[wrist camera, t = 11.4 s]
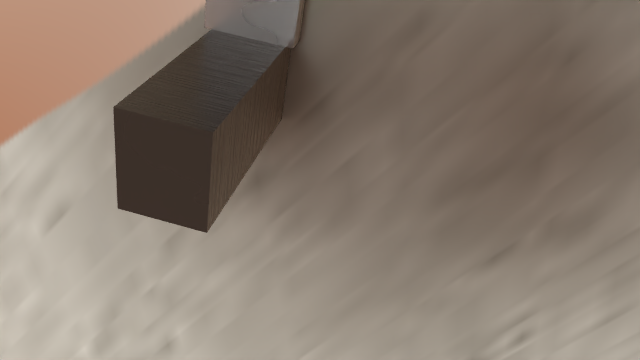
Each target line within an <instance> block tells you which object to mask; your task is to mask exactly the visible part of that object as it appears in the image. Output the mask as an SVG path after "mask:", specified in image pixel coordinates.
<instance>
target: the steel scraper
mask: <svg viewBox="0 0 640 360" xmlns="http://www.w3.org/2000/svg"><path fill="white" fill-rule="evenodd" d="M304 5H305V0H206V7H205V28H208V29H212V30H210V31H209V32H208V33H207V34H205V35H204V36H203V37H202V38H200V39H199V40H198V41H196V42H195V43H194V44H193V45H191V46H190V47H189V48H188V49H186V50H185V51H184V52H183V53H181V54H180V55H179V56H178V57H176V58H175V59H174V60H172V61H171V62H170V63H169V64H167V65H166V66H165V67H164V68H162V69H161V70H160V71H159V72H157V73H156V74H155V75H154V76H152V77H151V78H150V79H148V80H147V81H146V82H145V83H143V84H142V85H141V86H140V87H138V88H137V89H136V90H135V91H133V92H132V93H131V94H129V95H128V96H127V97H126V98H124V99H123V100H122V101H121V102H119V103H118V104H117V105H116V106H114V131H115V154H116V178H117V201H118V209H122V210H126V211H129V212H133V213H137V214H140V215H144V216H148V217H151V218H155V219H159V220H162V221H166V222H169V223H173V224H177V225H180V226H184V227H188V228H191V229H195V230H199V231H202V232H206V233H207V232H208V230H209V229H210V227H211V226H212V224H213V223H214V221H215V220H216V218H217V217H218V215H219V214H220V212H221V211H222V209H223V208H224V206H225V204H226V203H227V201H228V200H229V198H230V197H231V195H232V194H233V192H234V191H235V189H236V188H237V186H238V185H239V183H240V182H241V180H242V179H243V177H244V175H245V174H246V172H247V171H248V169H249V168H250V166H251V165H252V163H253V162H254V160H255V159H256V157H257V156H258V154H259V153H260V151H261V150H262V148H263V146H264V145H265V143H266V142H267V140H268V139H269V137H270V136H271V134H272V133H273V131H274V130H275V128H276V127H277V125H278V124H279V122H280V121H281V119H282V112H283V104H284V97H285V89H286V82H287V74H288V67H289V59H290V52H291V48H294V47H295V46H296V44H297V43H298V42H299V40H300V33H301V26H302V19H303V12H304Z"/></svg>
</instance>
